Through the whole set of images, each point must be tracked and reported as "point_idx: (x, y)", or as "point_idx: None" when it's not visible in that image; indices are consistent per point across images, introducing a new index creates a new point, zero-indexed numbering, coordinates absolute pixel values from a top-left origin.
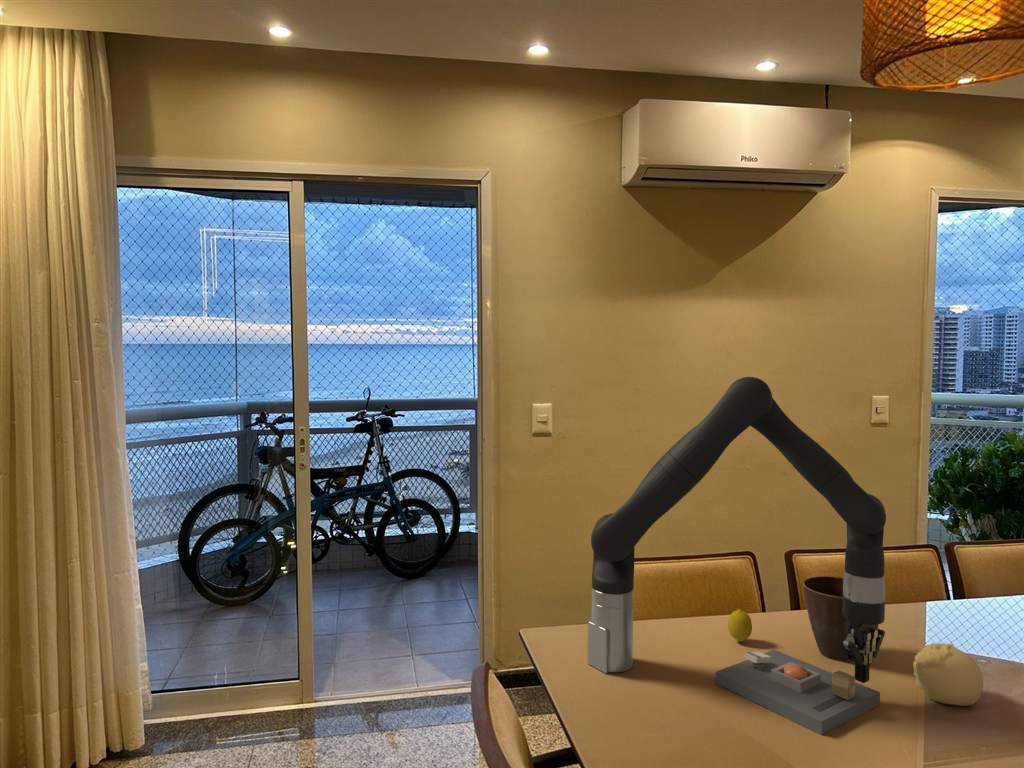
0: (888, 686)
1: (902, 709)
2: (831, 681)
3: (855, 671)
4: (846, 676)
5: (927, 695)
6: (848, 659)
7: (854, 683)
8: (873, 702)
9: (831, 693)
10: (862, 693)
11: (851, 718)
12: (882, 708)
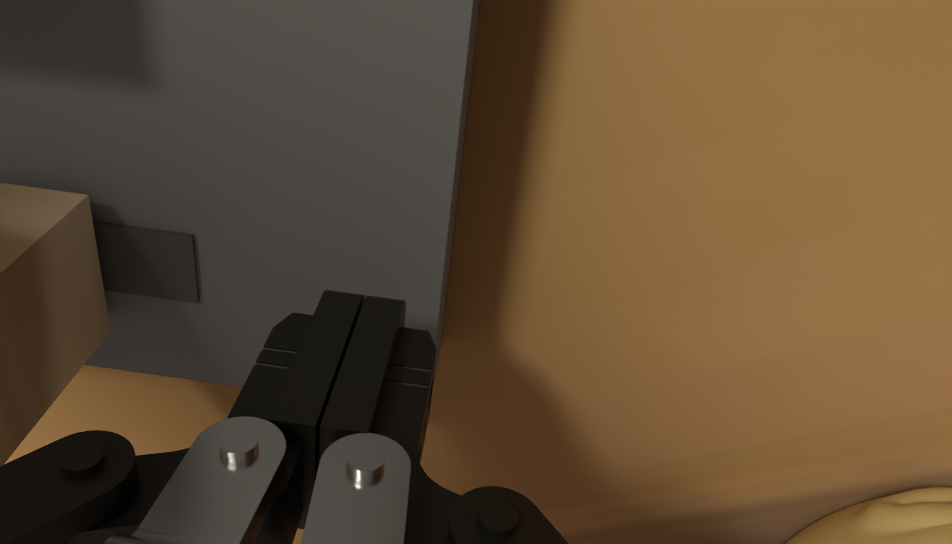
0: (853, 290)
1: (500, 451)
2: (251, 30)
3: (255, 368)
4: None
5: (789, 540)
6: (60, 447)
7: (42, 413)
8: None
9: (6, 150)
10: None
11: None
12: None
